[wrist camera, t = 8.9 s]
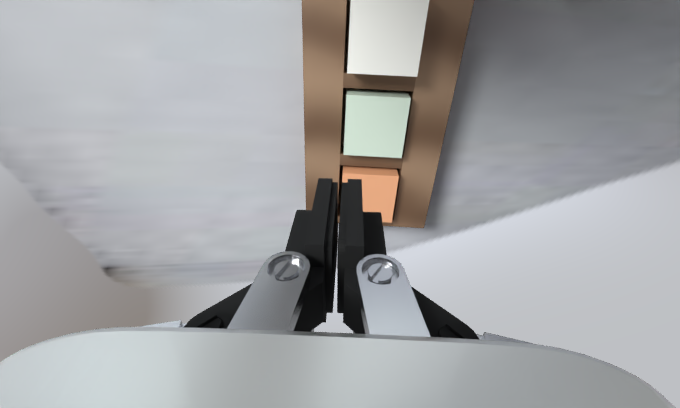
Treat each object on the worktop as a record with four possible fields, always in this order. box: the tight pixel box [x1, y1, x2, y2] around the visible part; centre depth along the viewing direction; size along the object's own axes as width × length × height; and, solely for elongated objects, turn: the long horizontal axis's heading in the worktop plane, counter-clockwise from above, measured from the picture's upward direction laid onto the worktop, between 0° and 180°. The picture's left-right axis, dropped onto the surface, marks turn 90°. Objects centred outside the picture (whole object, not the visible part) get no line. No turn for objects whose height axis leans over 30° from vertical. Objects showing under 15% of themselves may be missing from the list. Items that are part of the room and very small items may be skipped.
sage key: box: [344, 88, 411, 158], centre depth 25 cm, size 5×5×3 cm
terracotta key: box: [342, 165, 399, 223], centre depth 28 cm, size 5×5×3 cm
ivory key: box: [347, 0, 429, 77], centre depth 21 cm, size 5×5×3 cm
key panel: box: [302, 0, 474, 228], centre depth 25 cm, size 19×11×3 cm, turn 178°
